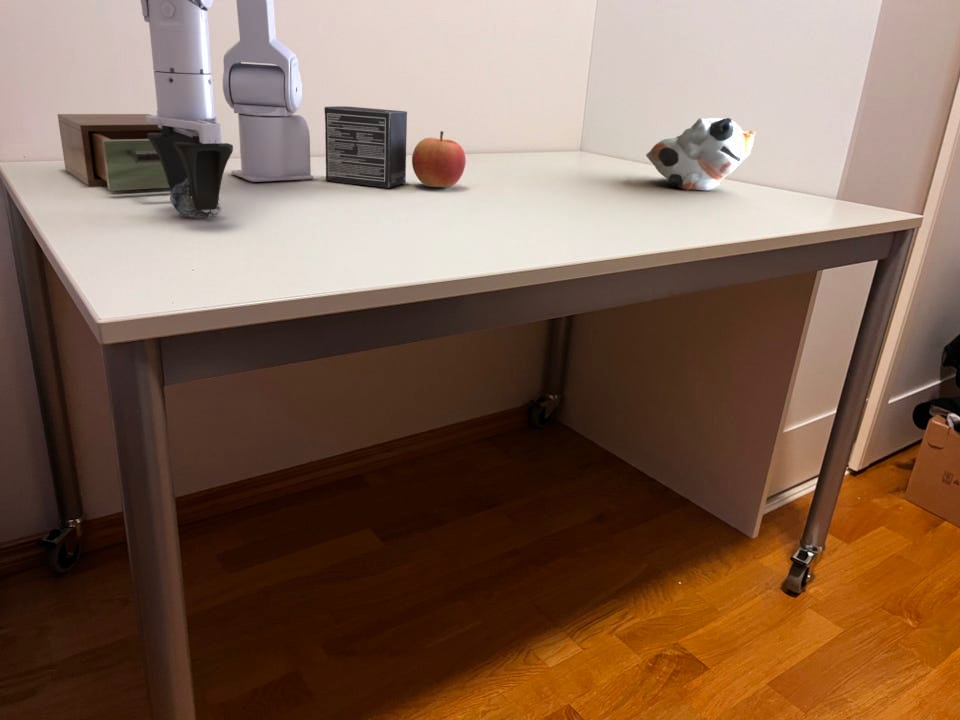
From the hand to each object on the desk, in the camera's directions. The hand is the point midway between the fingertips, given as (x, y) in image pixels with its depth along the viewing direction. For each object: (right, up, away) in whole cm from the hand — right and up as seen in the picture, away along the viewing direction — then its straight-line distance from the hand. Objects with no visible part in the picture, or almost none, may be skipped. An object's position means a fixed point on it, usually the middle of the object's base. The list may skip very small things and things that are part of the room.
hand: (194, 202), depth 85 cm
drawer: (-11, +5, +13) cm, 17 cm away
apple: (+26, +8, +28) cm, 39 cm away
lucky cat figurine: (+68, +12, +44) cm, 82 cm away
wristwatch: (0, -2, +1) cm, 2 cm away
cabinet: (-18, +8, +21) cm, 29 cm away
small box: (+15, +9, +28) cm, 33 cm away
